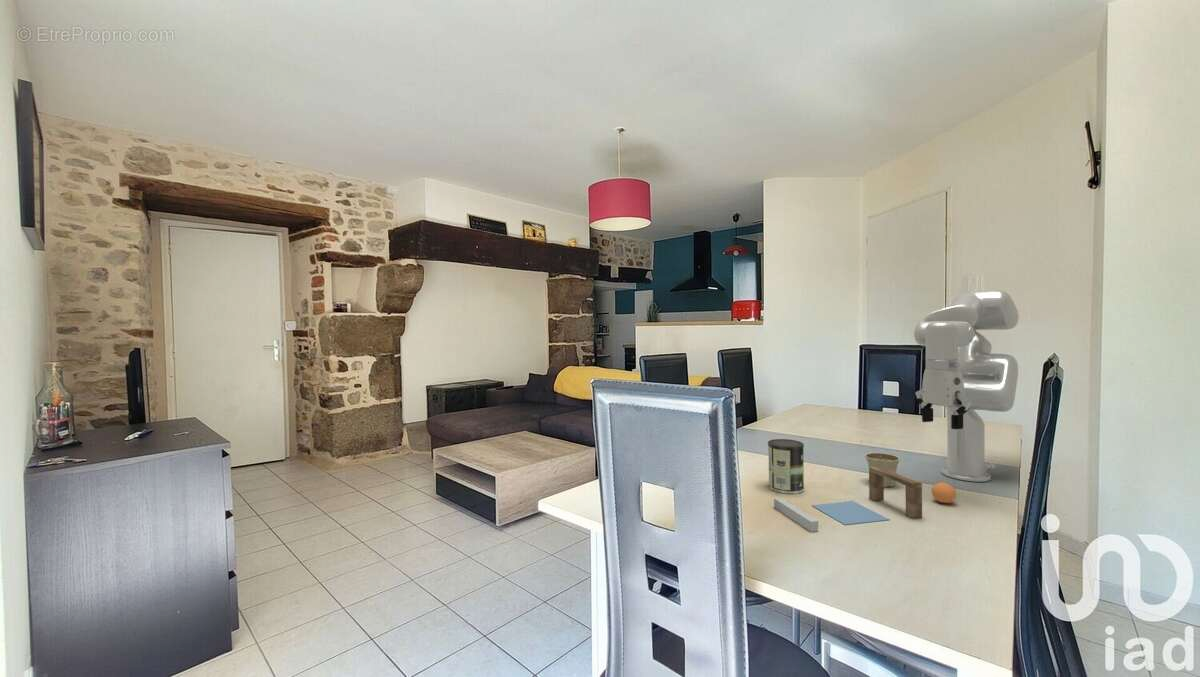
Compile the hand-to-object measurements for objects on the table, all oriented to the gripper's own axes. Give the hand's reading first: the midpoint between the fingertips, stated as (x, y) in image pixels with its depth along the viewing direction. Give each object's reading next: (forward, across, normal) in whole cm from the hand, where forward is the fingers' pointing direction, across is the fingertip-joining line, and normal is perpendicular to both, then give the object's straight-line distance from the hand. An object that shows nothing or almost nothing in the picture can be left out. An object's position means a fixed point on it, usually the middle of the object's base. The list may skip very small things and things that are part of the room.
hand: (941, 425), depth 134 cm
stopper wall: (+20, -6, +50) cm, 54 cm away
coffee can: (+21, +15, +40) cm, 47 cm away
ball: (+18, -4, +4) cm, 19 cm away
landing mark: (+20, -5, +34) cm, 40 cm away
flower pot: (+21, +13, +9) cm, 26 cm away
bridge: (+20, -5, +20) cm, 29 cm away
